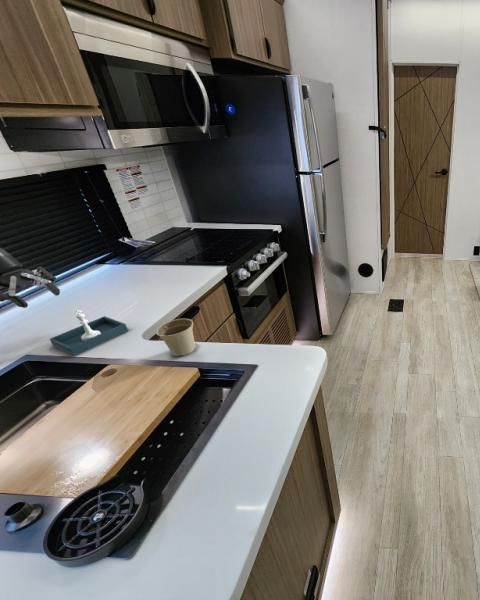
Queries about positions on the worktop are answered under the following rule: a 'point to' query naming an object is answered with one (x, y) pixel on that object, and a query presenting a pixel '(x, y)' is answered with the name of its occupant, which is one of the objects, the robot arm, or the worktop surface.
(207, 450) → the worktop surface
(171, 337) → the flower pot
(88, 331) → the chess piece
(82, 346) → the tray
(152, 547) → the worktop surface
